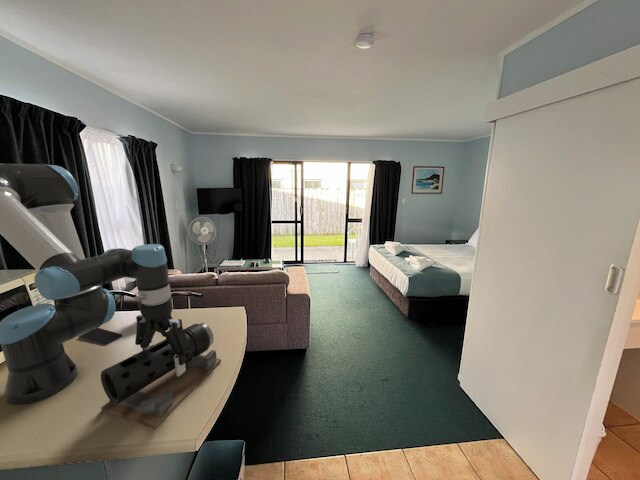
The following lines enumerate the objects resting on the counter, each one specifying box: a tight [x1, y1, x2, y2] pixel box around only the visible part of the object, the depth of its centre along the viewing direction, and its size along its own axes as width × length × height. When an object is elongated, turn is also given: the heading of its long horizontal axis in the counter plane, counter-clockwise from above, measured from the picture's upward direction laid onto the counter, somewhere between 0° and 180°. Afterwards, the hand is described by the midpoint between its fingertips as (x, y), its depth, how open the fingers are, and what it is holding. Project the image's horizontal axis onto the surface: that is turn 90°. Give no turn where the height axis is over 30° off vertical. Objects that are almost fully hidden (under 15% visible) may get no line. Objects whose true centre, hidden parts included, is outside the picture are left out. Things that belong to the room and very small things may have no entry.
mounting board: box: [100, 349, 222, 429], centre depth 82 cm, size 18×26×6 cm
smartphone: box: [77, 327, 124, 347], centre depth 106 cm, size 7×1×15 cm
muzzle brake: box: [100, 322, 215, 404], centre depth 81 cm, size 10×28×10 cm, turn 148°
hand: (166, 369), depth 82 cm, fingers closed on muzzle brake, 10 cm apart
